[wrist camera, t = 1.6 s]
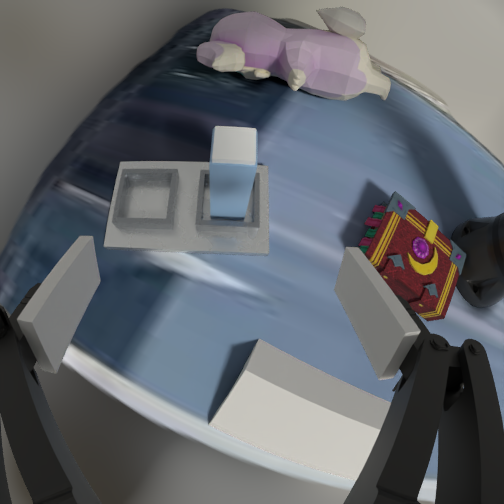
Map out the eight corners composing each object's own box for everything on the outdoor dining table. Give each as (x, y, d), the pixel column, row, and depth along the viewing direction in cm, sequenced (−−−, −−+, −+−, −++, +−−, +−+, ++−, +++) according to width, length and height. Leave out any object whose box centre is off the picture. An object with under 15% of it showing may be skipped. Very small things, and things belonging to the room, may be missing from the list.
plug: (244, 185, 37) (258, 120, 25) (244, 220, 36) (258, 163, 24) (213, 183, 37) (213, 117, 25) (210, 218, 35) (209, 160, 23)
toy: (359, 83, 54) (223, 56, 54) (380, 16, 40) (230, -15, 40) (391, 154, 37) (177, 111, 36) (437, 47, 23) (180, -10, 22)
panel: (266, 170, 40) (270, 157, 37) (267, 256, 36) (272, 248, 33) (122, 166, 37) (116, 153, 34) (106, 249, 34) (97, 241, 31)
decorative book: (425, 323, 37) (447, 320, 32) (341, 259, 38) (358, 249, 33) (448, 261, 40) (468, 252, 35) (374, 199, 41) (391, 183, 36)
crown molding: (208, 424, 30) (207, 432, 27) (257, 337, 34) (262, 337, 31) (389, 485, 29) (401, 494, 26) (427, 415, 33) (442, 419, 30)
